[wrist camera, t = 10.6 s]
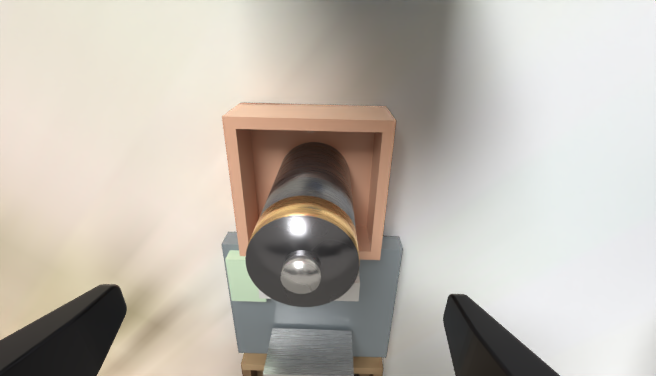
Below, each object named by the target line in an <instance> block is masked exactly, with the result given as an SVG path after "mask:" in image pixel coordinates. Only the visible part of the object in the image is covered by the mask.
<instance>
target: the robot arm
mask: <svg viewBox="0 0 656 376" xmlns="http://www.w3.org/2000/svg"><path fill="white" fill-rule="evenodd" d="M126 311H127V306H126V303H125V300H124V297H123V295H122V292H121V289H120V287H119V286H118V285H115V284H102V285H99V286H97V287H95V288H93V289H92V290H90V291H88V292H86V293H84V294H83V295H81V296H79V297H77V298H75V299H74V300H72V301H70V302H68V303H67V304H65V305H63V306H61V307H59V308H58V309H56V310H54V311H52V312H50V313H49V314H47V315H45V316H43V317H41V318H40V319H38V320H36V321H34V322H32V323H31V324H29V325H27V326H25V327H23V328H22V329H20V330H18V331H16V332H14V333H13V334H11V335H9V336H7V337H6V338H4V339H2V340H0V376H97V374H98V372H99V370H100V368H101V366H102V364H103V362H104V360H105V358H106V356H107V354H108V351H109V349H110V347H111V345H112V343H113V341H114V339H115V337H116V334H117V332H118V330H119V328H120V326H121V324H122V322H123V319H124V317H125V315H126ZM443 321H444V327H445V331H446V336H447V340H448V344H449V349H450V353H451V358H452V362H453V366H454V371H455V375H456V376H560V375H559V374H558V373H556V372H555V371H554V370H553V369H552V368H551V367H549V366H548V365H547V364H546V363H545V362H544V361H542V360H541V359H540V358H539V357H538V356H537V355H536V354H534V353H533V352H532V351H531V350H530V349H529V348H527V347H526V346H525V345H524V344H523V343H522V342H520V341H519V340H518V339H517V338H516V337H515V336H513V335H512V334H511V333H510V332H509V331H508V330H506V329H505V328H504V327H503V326H502V325H501V324H500V323H498V322H497V321H496V320H495V319H494V318H493V317H491V316H490V315H489V314H488V313H487V312H486V311H484V310H483V309H482V308H481V307H480V306H479V305H477V304H476V303H475V302H474V301H473V300H472V299H470V298H469V297H468V296H467V295H465V294H450V295H449V297H448V300H447V304H446V308H445V312H444V317H443Z"/></svg>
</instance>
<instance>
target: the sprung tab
mask: <svg viewBox="0 0 656 376" xmlns="http://www.w3.org/2000/svg"><path fill="white" fill-rule="evenodd" d="M263 376H354V368H353V349H352V331H349V330H317V329H285V328H273V329H272V333H271V338H270V343H269V347H268V352H267V357H266V362H265V366H264V371H263Z"/></svg>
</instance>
